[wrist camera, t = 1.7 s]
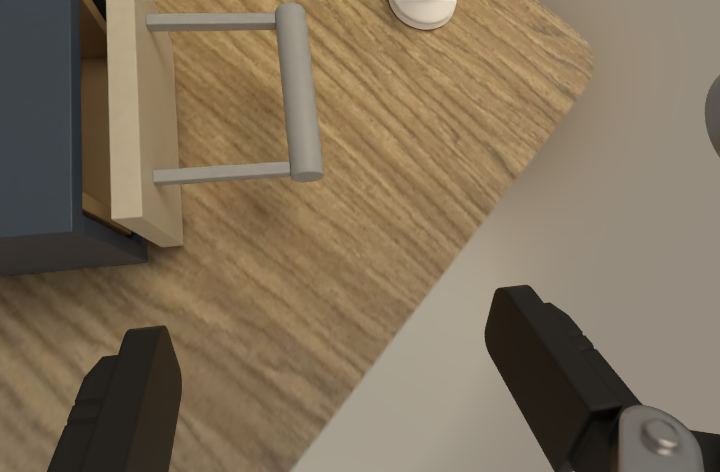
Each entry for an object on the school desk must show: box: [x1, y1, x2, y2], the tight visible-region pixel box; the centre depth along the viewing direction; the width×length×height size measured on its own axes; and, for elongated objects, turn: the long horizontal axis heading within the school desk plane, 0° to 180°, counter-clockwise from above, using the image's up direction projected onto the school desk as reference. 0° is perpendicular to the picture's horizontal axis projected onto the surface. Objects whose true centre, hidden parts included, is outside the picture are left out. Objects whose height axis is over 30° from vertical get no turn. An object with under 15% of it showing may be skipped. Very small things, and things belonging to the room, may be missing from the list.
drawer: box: [80, 0, 324, 247], centre depth 22 cm, size 22×13×7 cm, turn 97°
